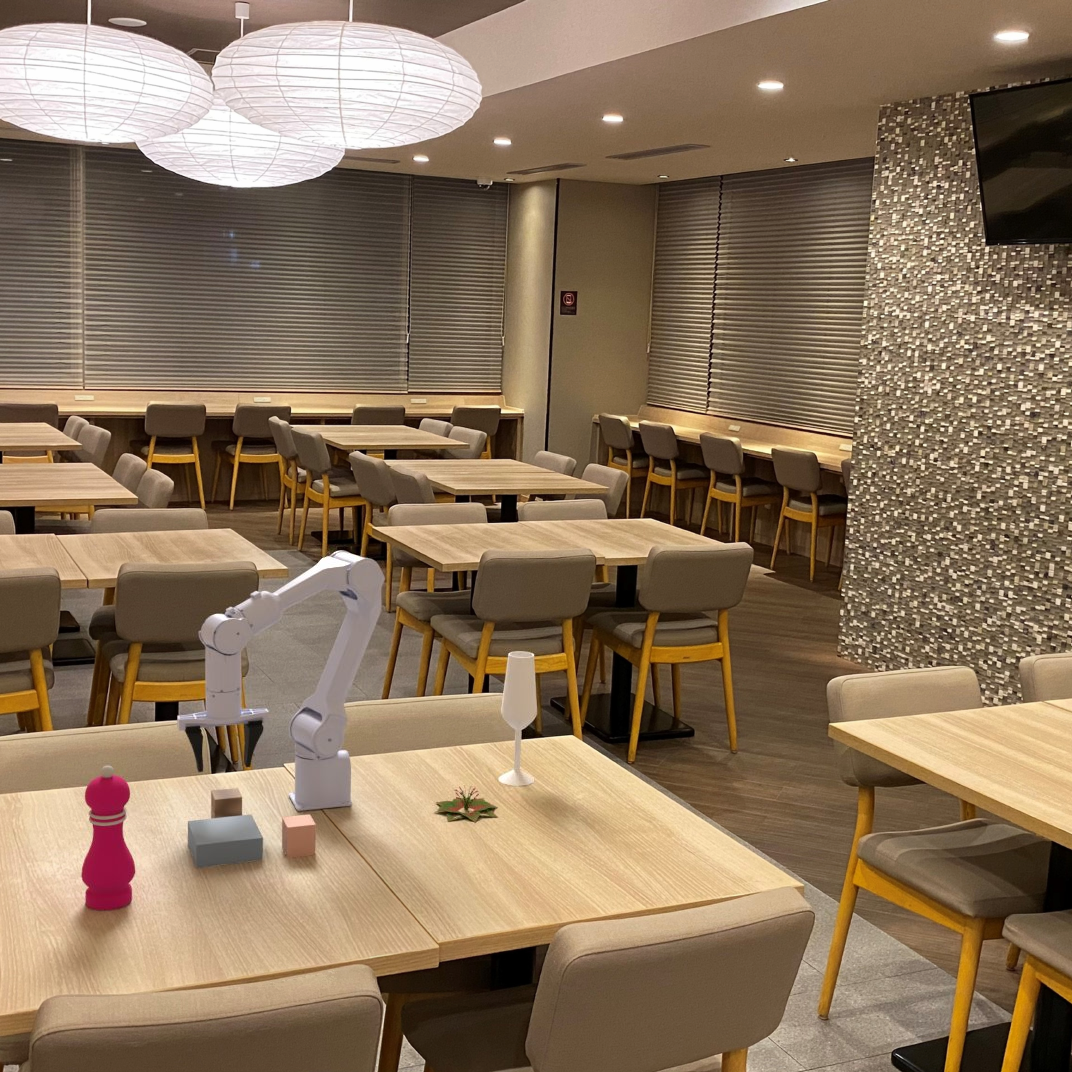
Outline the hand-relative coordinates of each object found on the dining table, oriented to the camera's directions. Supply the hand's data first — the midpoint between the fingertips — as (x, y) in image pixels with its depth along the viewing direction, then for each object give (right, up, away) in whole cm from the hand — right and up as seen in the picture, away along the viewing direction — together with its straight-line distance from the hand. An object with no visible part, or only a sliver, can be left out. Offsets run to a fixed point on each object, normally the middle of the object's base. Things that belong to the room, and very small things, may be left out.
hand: (223, 767), depth 207 cm
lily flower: (+39, -10, +11) cm, 42 cm away
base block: (+3, -12, -10) cm, 16 cm away
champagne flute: (+48, -7, +27) cm, 56 cm away
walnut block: (0, -9, +1) cm, 10 cm away
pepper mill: (-9, -14, -29) cm, 33 cm away
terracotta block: (+14, -12, -9) cm, 20 cm away
